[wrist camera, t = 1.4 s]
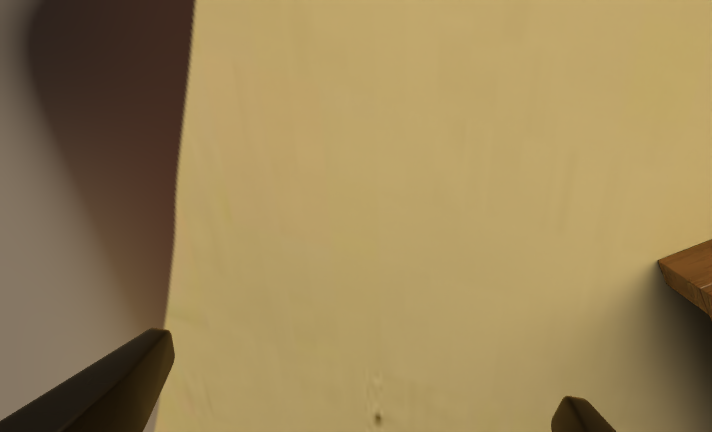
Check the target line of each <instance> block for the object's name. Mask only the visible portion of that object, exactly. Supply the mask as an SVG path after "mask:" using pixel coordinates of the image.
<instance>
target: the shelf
mask: <svg viewBox="0 0 712 432" xmlns="http://www.w3.org/2000/svg"><path fill="white" fill-rule="evenodd" d="M658 262H659V265H660V268H661V270H662V273H663V276H664V278H665V281H666V284H668V285H669V286H670V287H672V288H673V289H674V290H676V291H677V292H678V293H680V294H681V295H683V296H684V297H685V298H687V299H688V300H689V301H691V302H692V303H693V304H695V305H696V306H697V307H699V308H700V309H702V310H703V311H704V312H706V313H707V314H709V315H710V318H711V321H712V240H709V241H707V242H704V243H702V244H699V245H696V246H694V247H691V248H689V249H686V250H683V251H681V252H678V253H676V254H673V255H671V256H668V257H665V258H663V259H660V260H658Z"/></svg>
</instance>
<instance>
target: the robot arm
mask: <svg viewBox="0 0 712 432" xmlns="http://www.w3.org/2000/svg"><path fill="white" fill-rule="evenodd" d="M174 358H175V353H174V347H173V341H172V335H171V333H170V331H169V330H165V329H158V328H151V329H149V330H147V331H145V332H144V333H142V334H140V335H139V336H137V337H136V338H134V339H132V340H131V341H129V342H128V343H126V344H124V345H123V346H121V347H119V348H118V349H116V350H115V351H113V352H111V353H110V354H108V355H106V356H105V357H103V358H102V359H100V360H98V361H97V362H95V363H94V364H92V365H90V366H89V367H87V368H85V369H84V370H82V371H81V372H79V373H77V374H76V375H74V376H72V377H71V378H69V379H68V380H66V381H64V382H63V383H61V384H59V385H58V386H56V387H55V388H53V389H51V390H50V391H48V392H47V393H45V394H43V395H42V396H40V397H38V398H37V399H35V400H34V401H32V402H30V403H29V404H27V405H25V406H24V407H22V408H21V409H19V410H17V411H16V412H14V413H12V414H11V415H9V416H8V417H6V418H4V419H3V420H1V421H0V432H143V430H144V428H145V426H146V424H147V422H148V419H149V417H150V415H151V413H152V411H153V408H154V406H155V404H156V402H157V399H158V397H159V395H160V393H161V390H162V388H163V386H164V384H165V381H166V379H167V377H168V375H169V372H170V370H171V368H172V365H173V363H174ZM551 430H552V432H616V431H615V430H614V429H613V428H612V427H611V425H610V424H609V423H608V422H607V421H606V420H605V419H604V418H603V417H602V416H601V415H600V414H599V413H598V411H597V410H596V409H595V408H594V407H593V406H592V405H591V404H590V403H589V402H588V401H587V400H585V399H583V398H579V397H572V396H565V397H564V398H563V399H562V401H561V403H560V405H559V406H558V408H557V410H556V412H555V414H554V416H553V418H552V422H551Z"/></svg>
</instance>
